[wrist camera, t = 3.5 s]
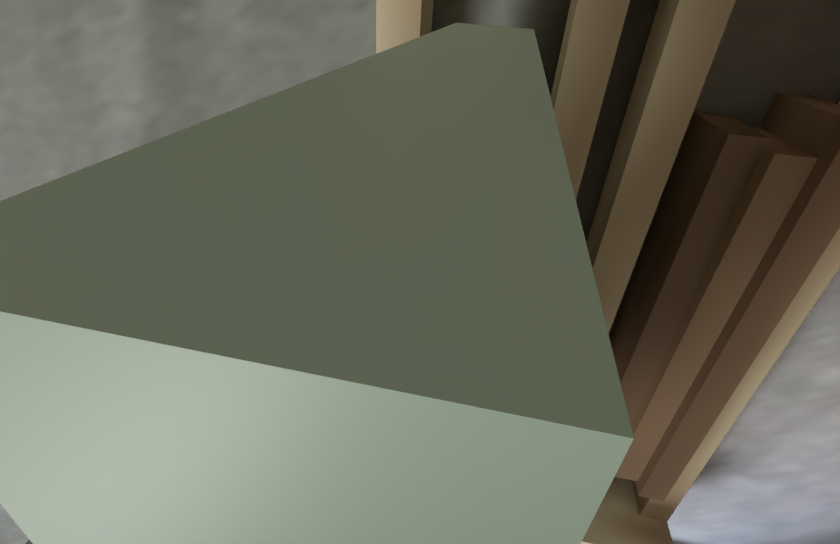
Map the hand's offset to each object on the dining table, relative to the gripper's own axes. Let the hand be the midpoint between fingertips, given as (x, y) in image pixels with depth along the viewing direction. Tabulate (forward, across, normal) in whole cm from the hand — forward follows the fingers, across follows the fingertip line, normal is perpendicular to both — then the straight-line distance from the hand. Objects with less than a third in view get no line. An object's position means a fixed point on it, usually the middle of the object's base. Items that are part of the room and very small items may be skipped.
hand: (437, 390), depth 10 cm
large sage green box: (+4, 0, 0) cm, 4 cm away
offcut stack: (+6, -6, 0) cm, 8 cm away
